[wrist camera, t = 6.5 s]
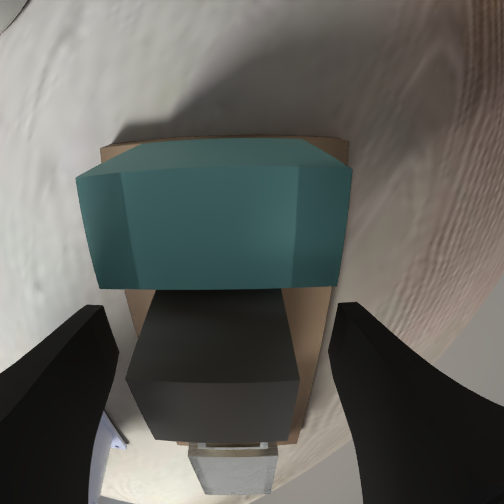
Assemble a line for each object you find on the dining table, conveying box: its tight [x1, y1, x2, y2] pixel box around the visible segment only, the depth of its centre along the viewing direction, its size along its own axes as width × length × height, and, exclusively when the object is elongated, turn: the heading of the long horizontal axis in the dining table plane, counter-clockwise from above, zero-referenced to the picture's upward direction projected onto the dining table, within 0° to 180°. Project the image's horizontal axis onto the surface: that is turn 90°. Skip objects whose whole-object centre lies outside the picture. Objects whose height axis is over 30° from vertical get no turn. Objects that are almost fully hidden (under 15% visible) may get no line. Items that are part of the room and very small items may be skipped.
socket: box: [76, 138, 353, 290], centre depth 9 cm, size 6×3×6 cm, turn 90°
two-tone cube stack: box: [125, 288, 300, 448], centre depth 11 cm, size 4×14×7 cm, turn 0°
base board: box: [100, 135, 349, 446], centre depth 17 cm, size 10×23×1 cm, turn 0°
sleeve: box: [188, 442, 278, 495], centre depth 17 cm, size 5×8×5 cm, turn 0°
